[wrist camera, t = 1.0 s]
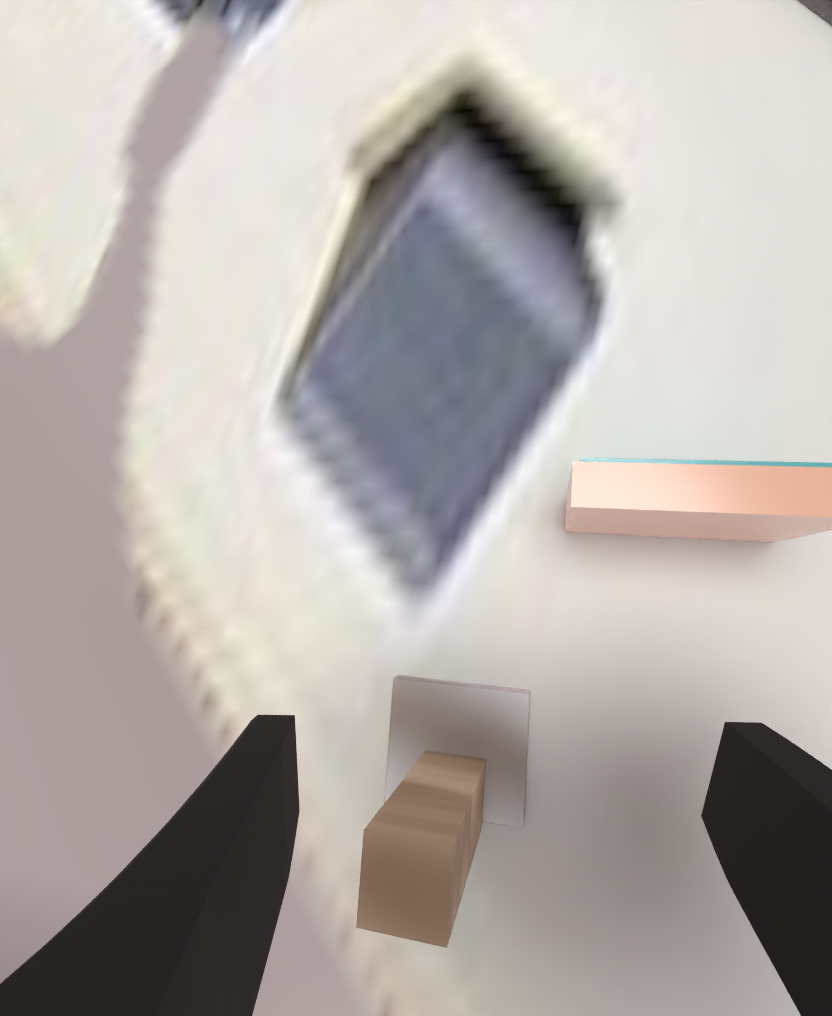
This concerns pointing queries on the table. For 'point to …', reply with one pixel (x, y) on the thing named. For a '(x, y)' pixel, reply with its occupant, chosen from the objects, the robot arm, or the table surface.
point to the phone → (820, 8)
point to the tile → (699, 498)
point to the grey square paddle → (440, 801)
